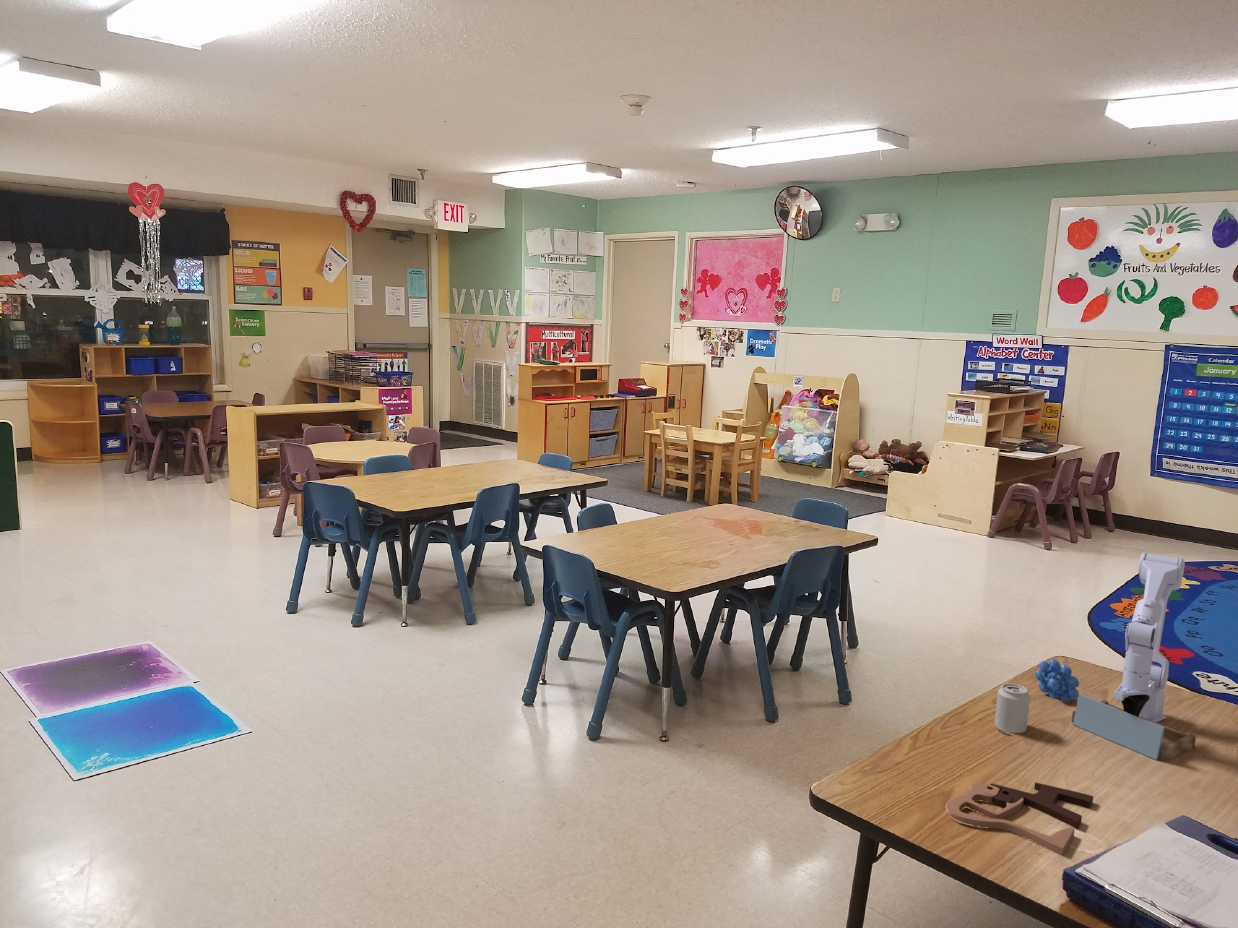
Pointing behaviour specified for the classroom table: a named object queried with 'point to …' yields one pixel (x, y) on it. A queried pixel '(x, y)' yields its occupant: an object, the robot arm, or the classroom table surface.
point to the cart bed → (1167, 739)
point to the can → (1012, 708)
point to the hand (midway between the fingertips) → (1130, 720)
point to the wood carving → (1014, 802)
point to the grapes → (1057, 680)
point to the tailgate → (1119, 726)
